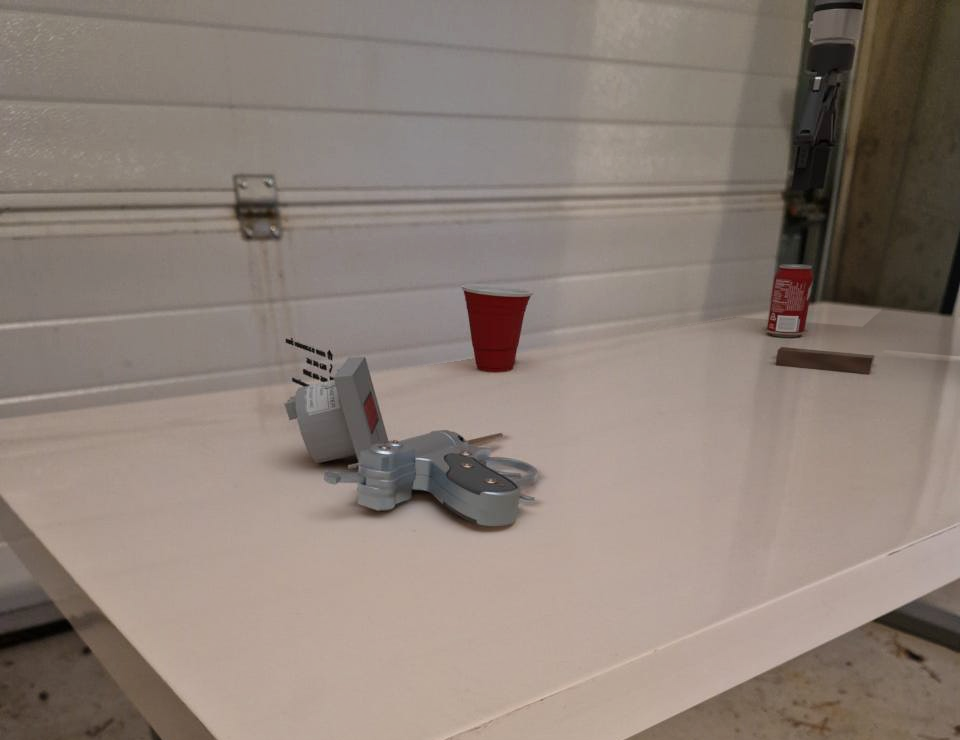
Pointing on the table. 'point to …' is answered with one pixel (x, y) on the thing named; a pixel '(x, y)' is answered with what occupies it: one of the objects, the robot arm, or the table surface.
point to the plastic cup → (495, 323)
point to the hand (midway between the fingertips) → (807, 189)
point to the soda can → (790, 300)
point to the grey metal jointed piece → (441, 476)
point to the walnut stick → (825, 360)
